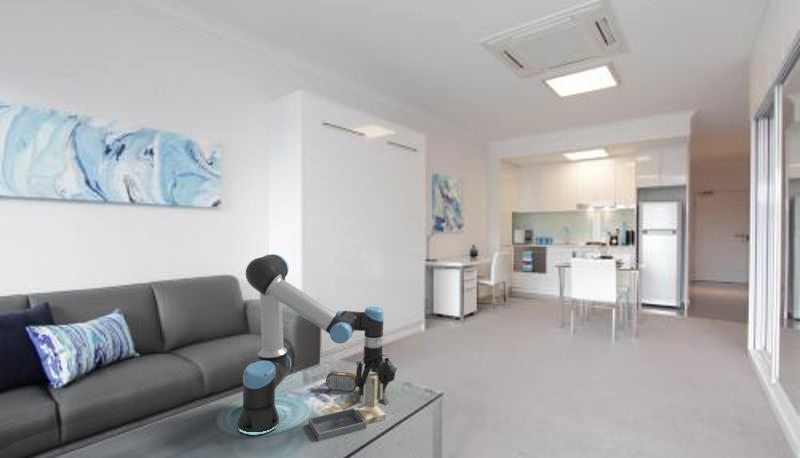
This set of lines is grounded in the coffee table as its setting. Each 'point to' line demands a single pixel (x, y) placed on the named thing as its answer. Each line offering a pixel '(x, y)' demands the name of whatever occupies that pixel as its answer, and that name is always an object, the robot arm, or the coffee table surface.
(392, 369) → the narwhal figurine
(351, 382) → the portable speaker
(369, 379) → the skincare box
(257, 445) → the coffee table surface
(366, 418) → the pad
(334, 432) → the tray
